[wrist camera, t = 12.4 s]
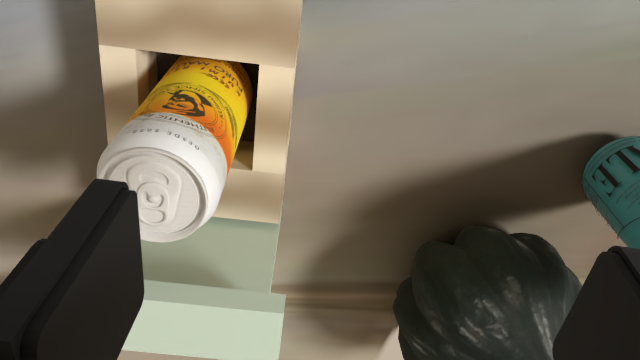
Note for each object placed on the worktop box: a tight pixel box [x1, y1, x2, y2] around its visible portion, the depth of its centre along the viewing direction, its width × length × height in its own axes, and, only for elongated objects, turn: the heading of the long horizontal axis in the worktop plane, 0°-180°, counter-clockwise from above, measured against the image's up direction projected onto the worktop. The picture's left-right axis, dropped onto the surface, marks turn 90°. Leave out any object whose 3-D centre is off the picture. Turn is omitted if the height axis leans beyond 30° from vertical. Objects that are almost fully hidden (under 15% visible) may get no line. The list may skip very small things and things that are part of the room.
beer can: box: [97, 55, 253, 242], centre depth 32 cm, size 6×6×15 cm
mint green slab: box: [121, 201, 286, 360], centre depth 36 cm, size 4×14×16 cm, turn 83°
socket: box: [95, 0, 303, 224], centre depth 36 cm, size 16×12×4 cm
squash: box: [393, 225, 582, 360], centre depth 41 cm, size 14×15×15 cm
